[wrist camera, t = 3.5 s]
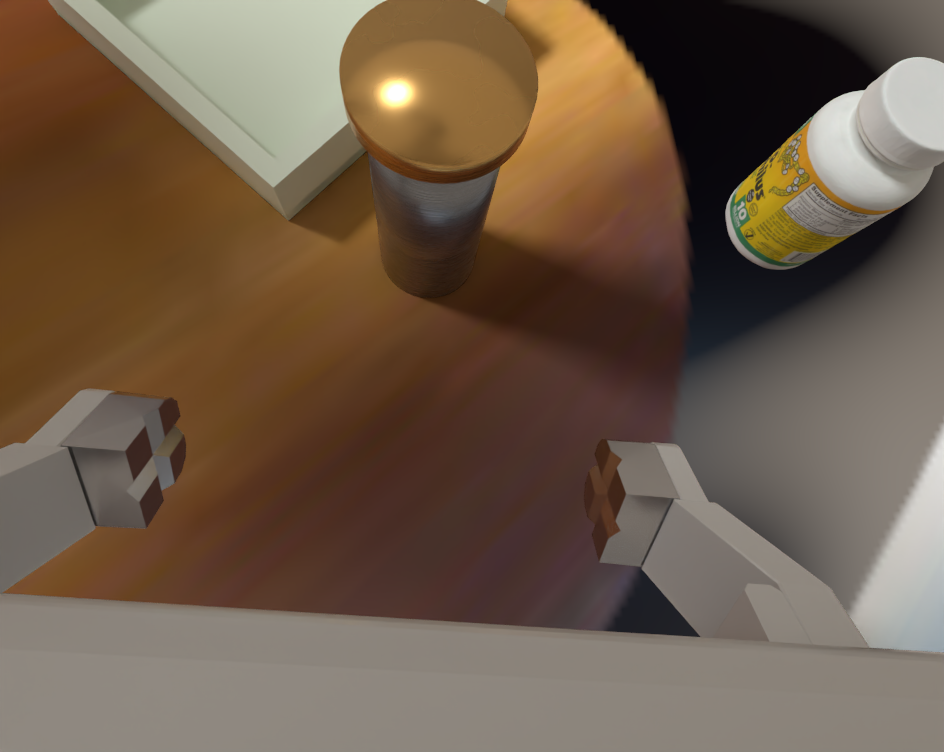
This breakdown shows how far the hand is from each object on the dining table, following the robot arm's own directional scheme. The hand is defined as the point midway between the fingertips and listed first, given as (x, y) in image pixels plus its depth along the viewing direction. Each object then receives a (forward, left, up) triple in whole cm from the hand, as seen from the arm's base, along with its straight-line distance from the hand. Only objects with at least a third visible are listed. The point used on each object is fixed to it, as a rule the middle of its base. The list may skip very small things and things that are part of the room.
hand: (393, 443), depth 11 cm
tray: (-20, +13, -14) cm, 28 cm away
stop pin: (-6, +8, -14) cm, 18 cm away
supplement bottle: (+6, +22, -15) cm, 27 cm away
